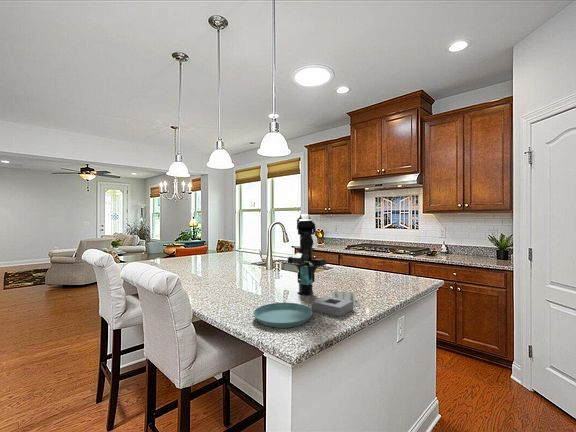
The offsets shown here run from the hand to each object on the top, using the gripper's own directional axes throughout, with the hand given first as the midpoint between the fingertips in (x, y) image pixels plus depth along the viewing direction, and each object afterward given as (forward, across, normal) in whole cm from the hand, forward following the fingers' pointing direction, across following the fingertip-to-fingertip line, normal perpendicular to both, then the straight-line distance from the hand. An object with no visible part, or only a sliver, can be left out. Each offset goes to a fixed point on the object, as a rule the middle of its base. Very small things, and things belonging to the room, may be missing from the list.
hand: (306, 279), depth 141 cm
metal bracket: (+13, +12, +14) cm, 22 cm away
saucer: (+12, +3, -21) cm, 25 cm away
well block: (+12, +14, 0) cm, 18 cm away
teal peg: (+2, 0, 0) cm, 2 cm away
